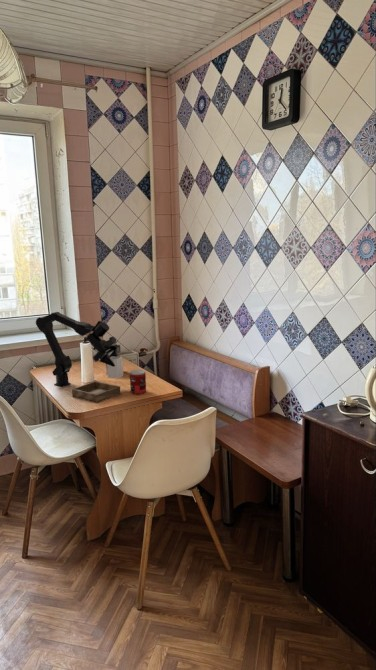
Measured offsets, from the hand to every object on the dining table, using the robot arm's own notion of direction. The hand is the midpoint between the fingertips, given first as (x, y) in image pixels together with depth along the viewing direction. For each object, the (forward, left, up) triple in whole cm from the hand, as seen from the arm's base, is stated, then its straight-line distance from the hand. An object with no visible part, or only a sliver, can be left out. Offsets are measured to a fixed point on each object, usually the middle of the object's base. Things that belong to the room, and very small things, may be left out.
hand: (117, 364), depth 247 cm
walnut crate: (-3, -13, -13) cm, 19 cm away
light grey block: (-1, 0, -7) cm, 7 cm away
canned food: (+12, +2, -14) cm, 19 cm away
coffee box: (-25, +22, -14) cm, 36 cm away
